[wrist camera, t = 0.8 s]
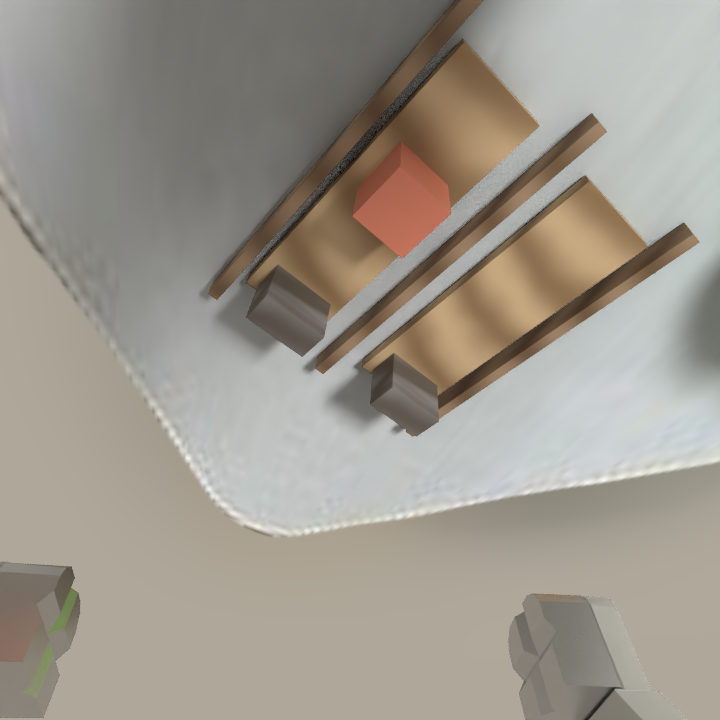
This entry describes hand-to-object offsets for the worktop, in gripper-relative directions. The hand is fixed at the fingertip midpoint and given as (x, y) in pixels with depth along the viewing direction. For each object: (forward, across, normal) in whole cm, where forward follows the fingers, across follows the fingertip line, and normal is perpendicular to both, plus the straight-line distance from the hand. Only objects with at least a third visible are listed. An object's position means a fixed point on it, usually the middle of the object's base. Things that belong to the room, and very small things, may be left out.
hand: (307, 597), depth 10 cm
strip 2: (+40, -17, +15) cm, 45 cm away
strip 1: (+40, -5, +8) cm, 41 cm away
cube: (+38, -6, +5) cm, 39 cm away
